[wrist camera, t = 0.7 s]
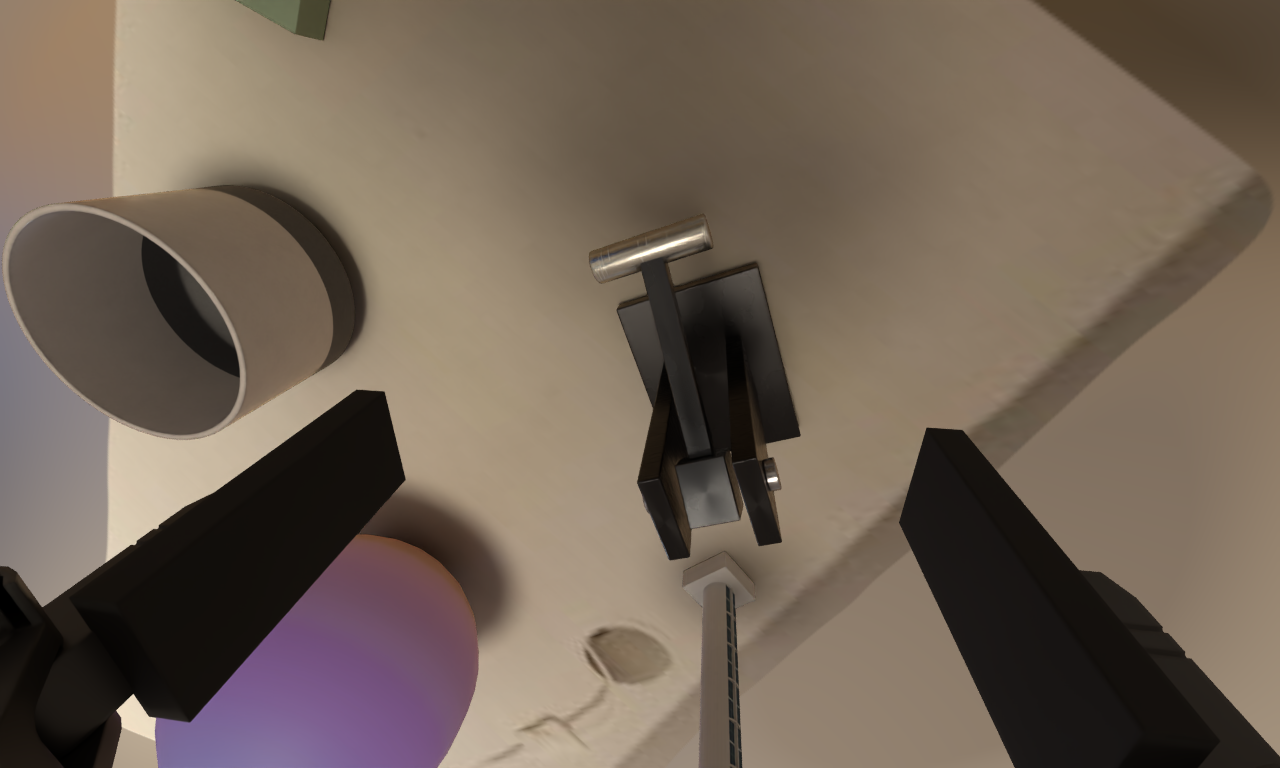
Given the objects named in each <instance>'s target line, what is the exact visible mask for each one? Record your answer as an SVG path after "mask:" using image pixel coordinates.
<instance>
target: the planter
mask: <svg viewBox="0 0 1280 768" xmlns="http://www.w3.org/2000/svg"><path fill="white" fill-rule="evenodd" d="M2 273H3V281H4V286H5V290H6V293H7V297H8V300H9V303H10V306H11V308H12V311H13V313H14V315H15V318H16V319H17V322H18V324H19V326H20V327H21V329H22V331H23V333H24V334H25V336H26V338H27V339H28V341H29V342H30V344H31V345H32V347H33V348H34V349H35V351H36V352H37V354H38V355H39V356H40V357H41V358H42V360H43V361H44V362H45V364H46V365H47V366H48V367H49V368H50V369H51V370H52V371H53V372H54V374H55V375H56V376H57V377H58V378H59V379H60V380H61V381H62V382H63V383H65V384H66V385H67V386H68V387H69V388H70V389H71V390H72V391H73V392H74V393H76V394H77V395H78V396H79V397H81V398H82V399H83V400H84V401H86V402H87V403H88V404H90V405H91V406H93V407H94V408H95V409H97V410H99V411H100V412H102V413H103V414H105V415H107V416H108V417H110V418H112V419H114V420H116V421H117V422H119V423H121V424H123V425H126V426H128V427H130V428H133V429H135V430H138V431H140V432H143V433H146V434H150V435H153V436H157V437H162V438H167V439H176V440H191V439H199V438H203V437H207V436H210V435H212V434H215V433H217V432H219V431H221V430H222V429H224V428H226V427H227V426H229V425H231V424H232V423H234V422H236V421H237V420H239V419H241V418H242V417H244V416H246V415H247V414H249V413H251V412H252V411H254V410H256V409H257V408H259V407H261V406H262V405H264V404H266V403H267V402H269V401H271V400H272V399H274V398H276V397H277V396H279V395H281V394H282V393H284V392H285V391H287V390H289V389H290V388H292V387H294V386H295V385H297V384H299V383H300V382H302V381H304V380H305V379H307V378H309V377H310V376H312V375H314V374H315V373H317V372H319V371H320V370H322V369H324V368H325V367H327V366H329V365H330V364H332V363H333V362H334V361H335V360H337V359H338V358H339V357H340V355H341V354H342V353H343V352H344V350H345V349H346V347H347V345H348V343H349V341H350V339H351V336H352V332H353V328H354V320H355V307H354V298H353V293H352V289H351V286H350V282H349V279H348V277H347V274H346V272H345V270H344V267H343V265H342V263H341V261H340V260H339V258H338V256H337V255H336V253H335V251H334V250H333V248H332V247H331V245H330V244H329V243H328V241H327V240H326V239H325V237H324V236H323V235H322V234H321V233H320V232H319V231H318V229H317V228H316V227H315V226H314V225H313V224H312V223H311V222H310V221H309V220H307V219H306V218H305V217H304V216H303V215H302V214H300V213H299V212H298V211H296V210H295V209H294V208H292V207H291V206H289V205H288V204H286V203H284V202H283V201H281V200H279V199H277V198H275V197H273V196H271V195H269V194H267V193H264V192H261V191H259V190H255V189H252V188H247V187H242V186H233V185H224V186H214V187H204V188H195V189H186V190H176V191H167V192H158V193H148V194H139V195H130V196H120V197H111V198H102V199H94V200H84V201H76V202H75V201H74V202H66V203H56V204H50V205H46V206H42V207H39V208H36V209H34V210H32V211H30V212H28V213H27V214H25V215H24V216H23V217H21V218H20V219H19V220H18V221H17V222H16V223H15V224H14V226H13V227H12V229H11V230H10V232H9V234H8V236H7V238H6V241H5V244H4V249H3V255H2Z"/></svg>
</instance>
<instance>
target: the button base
mask: <svg viewBox="0 0 1280 768" xmlns="http://www.w3.org/2000/svg"><path fill="white" fill-rule="evenodd" d="M236 1H237V2H239V3H241V4H243V5H245V6H246V7H248V8H250V9H252V10H253V11H255V12H257V13H259V14H260V15H262V16H264V17H266V18H267V19H269V20H271V21H273V22H274V23H276V24H278V25H280V26H281V27H283V28H285V29H287V30H288V31H290V32H292V33H294V34H297V35H301V36H305V37H309V38H314V39H318V40H323V37H324V32H325V26H326V20H327V15H328V9H329V4H330V0H236Z"/></svg>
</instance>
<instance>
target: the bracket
mask: <svg viewBox="0 0 1280 768" xmlns="http://www.w3.org/2000/svg"><path fill="white" fill-rule="evenodd" d="M674 290H675V294H676V297H677V301H678V305H679V309H680V313H681V317H682V321H683V325H684V329H685V333H686V337H687V341H688V345H689V349H690V353H691V357H692V361H693V365H694V369H695V373H696V376H697V380H698V384H699V388H700V392H701V396H702V400H703V404H704V408H705V412H706V416H707V420H708V424H709V428H710V432H711V436H712V440H713V444H714V448H715V450H717V449H722V448H727V447H729V450H730V451H731V455H732V465H733V468H734V471H735V474H736V478H737V481H738V484H739V487H740V490H741V493H742V496H743V499H744V502H745V506H746V509H747V512H748V515H749V518H750V521H751V524H752V527H753V531H754V534H755V537H756V540H757V543H758V546H764V545H770V544H776V543H781V542H782V539H781V533H780V527H779V521H778V515H777V509H776V503H775V496H774V491H776V490H781V482H780V478H779V474H778V470H777V466H776V462H775V459H774V458H773V457H772V458H768V454H767V448H766V444H767V443H772V442H776V441H781V440H786V439H790V438H795V437H800V435H801V434H800V431H799V427H798V423H797V419H796V415H795V411H794V407H793V403H792V399H791V395H790V391H789V387H788V383H787V379H786V375H785V371H784V367H783V363H782V359H781V355H780V351H779V347H778V343H777V339H776V335H775V331H774V327H773V323H772V319H771V315H770V311H769V308H768V304H767V300H766V296H765V292H764V288H763V284H762V280H761V276H760V272H759V268H758V265H757V263H753V264H750V265H746V266H743V267H740V268H737V269H733V270H730V271H727V272H723V273H720V274H717V275H714V276H710V277H707V278H704V279H700V280H697V281H694V282H691V283H687V284H684V285H681V286H677V287H674ZM617 313H618V316H619V318H620V321H621V324H622V326H623V329H624V332H625V335H626V337H627V340H628V343H629V345H630V348H631V351H632V353H633V356H634V359H635V361H636V364H637V367H638V369H639V372H640V375H641V377H642V380H643V383H644V385H645V388H646V391H647V393H648V396H649V399H650V401H651V404H652V407H653V413H652V417H651V422H650V426H649V431H648V435H647V440H646V444H645V449H644V453H643V458H642V463H641V467H640V472H639V476H638V481H637V484H638V486H639V489H640V491H641V494H642V497H643V502H644V506H645V508H646V510H647V512H648V513H649V514H650V515H651V518H652V520H653V523H654V525H655V527H656V530H657V532H658V535H659V537H660V540H661V542H662V544H663V547H664V549H665V552H666V554H667V556H668V559H669V560H676V559H682V558H688V557H690V547H691V530H692V529H690V527H689V523H688V519H687V515H686V511H685V507H684V503H683V499H682V495H681V491H680V487H679V483H678V479H677V475H676V471H675V465H676V464H677V463H678V462H679V461H680V460H681V459H682V458H683V457H685V456H688V454H687V450H686V446H685V442H684V438H683V434H682V430H681V426H680V422H679V418H678V414H677V410H676V406H675V402H674V398H673V394H672V390H671V386H670V382H669V378H668V374H667V370H666V366H665V362H664V358H663V354H662V350H661V346H660V342H659V338H658V334H657V330H656V326H655V322H654V318H653V314H652V310H651V306H650V303H649V299H648V296H645V297H641V298H638V299H635V300H631V301H628V302H625V303H621V304H619V306H618V308H617Z"/></svg>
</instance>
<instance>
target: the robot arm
mask: <svg viewBox="0 0 1280 768" xmlns="http://www.w3.org/2000/svg"><path fill="white" fill-rule="evenodd" d="M405 480H406V479H405V475H404V471H403V467H402V462H401V458H400V454H399V450H398V446H397V442H396V437H395V433H394V429H393V425H392V421H391V417H390V412H389V408H388V404H387V400H386V396H385V392H383V391H368V390H356V391H354V392H353V393H351V394H350V395H349V396H347V397H346V398H344V399H343V400H342V401H340V402H339V403H338V404H336V405H335V406H333V407H332V408H331V409H329V410H328V411H326V412H325V413H324V414H322V415H321V416H320V417H318V418H317V419H315V420H314V421H313V422H311V423H310V424H308V425H307V426H306V427H304V428H303V429H302V430H300V431H299V432H297V433H296V434H295V435H293V436H292V437H290V438H289V439H288V440H286V441H285V442H284V443H282V444H281V445H279V446H278V447H277V448H275V449H274V450H272V451H271V452H270V453H268V454H267V455H266V456H264V457H263V458H261V459H260V460H259V461H257V462H256V463H254V464H253V465H252V466H250V467H249V468H248V469H246V470H245V471H243V472H242V473H241V474H239V475H238V476H236V477H235V478H234V479H232V480H231V481H230V482H228V483H227V484H225V485H224V486H223V487H221V488H220V489H218V490H217V491H216V492H214V493H212V494H210V495H208V496H206V497H204V498H202V499H200V500H198V501H196V502H194V503H191V504H189V505H187V506H185V507H184V508H182V509H181V510H180V511H178V512H177V513H175V514H174V515H173V516H171V517H170V518H168V519H167V520H166V521H164V522H163V523H161V524H160V525H159V528H158V529H153V530H151V531H150V532H149V533H147V534H146V535H144V536H143V537H142V538H140V539H139V540H137V543H136V545H130V546H129V547H127V548H126V549H125V550H123V551H122V552H120V553H119V554H118V555H116V556H115V557H113V558H112V559H110V560H109V561H108V562H106V563H105V564H103V565H102V566H101V567H99V568H98V569H96V570H95V571H94V572H92V573H91V574H89V575H88V576H87V577H85V578H84V579H82V580H81V581H80V582H78V583H77V584H75V585H74V586H73V587H71V588H70V589H68V590H67V591H65V592H64V593H63V594H61V595H60V596H58V597H57V598H56V599H54V600H53V601H51V602H50V603H49V604H47V605H46V606H44V607H41V605H40V604H39V603H38V601H37V600H36V598H35V597H34V596H33V594H32V593H31V591H30V590H29V589H28V587H27V586H26V584H25V583H24V582H23V580H22V579H21V577H20V576H19V575H18V573H17V572H16V571H14V570H13V569H11V568H9V567H4V566H0V768H112V766H113V762H114V757H115V754H116V749H117V746H118V741H119V737H120V733H121V729H122V726H121V717H120V715H119V714H118V713H117V711H116V710H117V709H118V708H119V707H120V706H121V705H122V704H123V703H124V702H125V701H126V700H127V699H128V698H129V697H130V696H131V695H132V694H134V695H135V697H136V698H137V700H138V701H139V703H140V704H141V705H142V707H143V708H144V710H145V711H146V713H147V714H148V716H149V717H155V718H162V719H169V720H175V721H182V722H188V723H190V722H191V721H192V720H193V719H194V718H195V717H196V716H197V714H198V713H199V712H200V711H201V710H202V709H203V708H204V707H205V705H206V704H207V703H208V702H209V701H210V700H211V699H212V698H213V696H214V695H215V694H216V693H217V692H218V691H219V690H220V689H221V687H222V686H223V685H224V684H225V683H226V682H227V681H228V680H229V678H230V677H231V676H232V675H233V674H234V673H235V672H236V670H237V669H238V668H239V667H240V666H241V665H242V664H243V663H244V661H245V660H246V659H247V658H248V657H249V656H250V655H251V654H252V652H253V651H254V650H255V649H256V648H257V647H258V646H259V645H260V643H261V642H262V641H263V640H264V639H265V638H266V637H267V636H268V634H269V633H270V632H271V631H272V630H273V629H274V628H275V626H276V625H277V624H278V623H279V622H280V621H281V620H282V619H283V617H284V616H285V615H286V614H287V613H288V612H289V611H290V610H291V608H292V607H293V606H294V605H295V604H296V603H297V602H298V601H299V599H300V598H301V597H302V596H303V595H304V594H305V593H306V592H307V590H308V589H309V588H310V587H311V586H312V585H313V584H314V582H315V581H316V580H317V579H318V578H319V577H320V576H321V575H322V573H323V572H324V571H325V570H326V569H327V568H328V567H329V566H330V564H331V563H332V562H333V561H334V560H335V559H336V558H337V557H338V555H339V554H340V553H341V552H342V551H343V550H344V549H345V548H346V546H347V545H348V544H349V543H350V542H351V541H352V540H353V538H354V537H355V536H356V535H357V534H358V533H359V532H360V531H361V529H362V528H363V527H364V526H365V525H366V524H367V523H368V522H369V520H370V519H371V518H372V517H373V516H374V515H375V514H376V513H377V511H378V510H379V509H380V508H381V507H382V506H383V505H384V504H385V502H386V501H387V500H388V499H389V498H390V497H391V496H392V494H393V493H394V492H395V491H396V490H397V489H398V488H399V487H400V485H401V484H402V483H403V482H404V481H405ZM899 523H900V526H901V528H902V530H903V532H904V534H905V536H906V538H907V540H908V543H909V545H910V547H911V549H912V551H913V553H914V555H915V557H916V559H917V562H918V564H919V566H920V568H921V570H922V572H923V574H924V576H925V579H926V581H927V583H928V585H929V587H930V589H931V591H932V593H933V595H934V598H935V600H936V602H937V604H938V606H939V608H940V610H941V612H942V614H943V617H944V619H945V621H946V623H947V625H948V627H949V629H950V631H951V634H952V635H953V638H954V640H955V642H956V644H957V646H958V648H959V651H960V653H961V655H962V657H963V659H964V661H965V663H966V665H967V667H968V670H969V671H970V674H971V676H972V678H973V680H974V682H975V684H976V686H977V689H978V691H979V693H980V695H981V697H982V699H983V701H984V703H985V706H986V707H987V710H988V712H989V714H990V716H991V718H992V720H993V722H994V725H995V727H996V729H997V731H998V733H999V735H1000V737H1001V740H1002V742H1003V744H1004V746H1005V748H1006V750H1007V752H1008V754H1009V756H1010V759H1011V761H1012V763H1013V765H1014V767H1015V768H1280V756H1279V755H1278V754H1277V753H1276V752H1275V751H1274V750H1273V749H1272V748H1271V746H1270V745H1269V744H1268V743H1267V742H1266V741H1265V740H1264V739H1263V738H1262V737H1261V735H1260V734H1259V733H1258V732H1257V731H1256V730H1255V729H1254V728H1253V727H1252V726H1251V724H1250V723H1249V722H1248V721H1247V720H1246V719H1245V718H1244V717H1243V716H1242V714H1241V713H1240V712H1239V711H1238V710H1237V709H1236V708H1235V707H1234V706H1233V704H1232V703H1231V702H1230V701H1229V700H1228V699H1227V698H1226V697H1225V696H1224V694H1223V693H1222V692H1221V691H1220V690H1219V689H1218V688H1217V687H1216V686H1215V685H1214V683H1213V682H1212V681H1211V680H1210V679H1209V678H1208V677H1207V676H1206V675H1205V673H1204V672H1203V671H1202V670H1201V669H1200V668H1199V667H1198V666H1197V665H1196V664H1195V662H1194V661H1193V660H1192V659H1190V658H1186V656H1185V651H1184V650H1183V649H1182V648H1181V647H1180V646H1179V645H1178V644H1177V642H1176V641H1175V640H1174V639H1173V638H1172V637H1171V636H1170V635H1169V634H1168V633H1164V632H1163V630H1162V628H1163V627H1162V626H1161V625H1160V624H1159V623H1158V622H1157V621H1156V619H1155V618H1154V617H1153V616H1152V615H1151V614H1150V613H1149V612H1148V610H1147V609H1146V608H1145V607H1144V606H1143V605H1142V604H1141V603H1140V602H1139V601H1138V599H1137V598H1136V597H1134V596H1133V595H1131V594H1130V593H1129V592H1127V591H1126V590H1125V589H1123V588H1122V587H1120V586H1119V585H1118V584H1116V583H1115V582H1114V581H1112V580H1111V579H1109V578H1108V577H1107V576H1105V575H1104V574H1102V573H1101V572H1092V571H1081V570H1078V569H1077V567H1076V566H1075V565H1074V564H1073V563H1072V561H1071V560H1070V559H1069V558H1068V557H1067V555H1066V554H1065V553H1064V552H1063V550H1062V549H1061V548H1060V547H1059V546H1058V545H1057V543H1056V542H1055V541H1054V540H1053V538H1052V537H1051V536H1050V535H1049V534H1048V532H1047V531H1046V530H1045V529H1044V528H1043V526H1042V525H1041V524H1040V523H1039V522H1038V521H1037V519H1036V518H1035V517H1034V516H1033V514H1032V513H1031V512H1030V511H1029V510H1028V508H1027V507H1026V506H1025V505H1024V504H1023V502H1022V501H1021V500H1020V499H1019V498H1018V497H1017V495H1016V494H1015V493H1014V492H1013V490H1012V489H1011V488H1010V487H1009V485H1008V484H1007V483H1006V482H1005V481H1004V479H1003V478H1002V477H1001V476H1000V475H999V473H998V472H997V471H996V470H995V469H994V467H993V466H992V465H991V464H990V463H989V461H988V460H987V459H986V458H985V457H984V455H983V454H982V453H981V452H980V451H979V449H978V448H977V447H976V446H975V445H974V443H973V442H972V441H971V440H970V438H969V437H968V436H967V435H966V434H965V432H964V431H963V430H954V429H939V428H926V431H925V435H924V438H923V442H922V445H921V449H920V452H919V456H918V459H917V462H916V466H915V469H914V473H913V476H912V480H911V483H910V487H909V490H908V493H907V497H906V500H905V504H904V507H903V511H902V514H901V518H900V521H899Z"/></svg>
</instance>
